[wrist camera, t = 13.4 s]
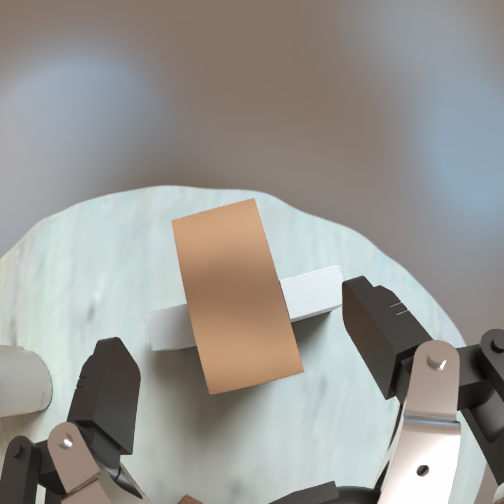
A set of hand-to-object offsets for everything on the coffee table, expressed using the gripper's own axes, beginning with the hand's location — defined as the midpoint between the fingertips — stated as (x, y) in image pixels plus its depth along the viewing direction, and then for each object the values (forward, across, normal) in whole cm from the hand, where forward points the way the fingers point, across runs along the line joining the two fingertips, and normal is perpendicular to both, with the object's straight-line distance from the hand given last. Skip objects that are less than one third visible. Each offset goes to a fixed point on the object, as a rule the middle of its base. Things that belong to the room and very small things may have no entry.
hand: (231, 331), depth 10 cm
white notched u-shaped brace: (+18, 0, +15) cm, 23 cm away
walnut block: (+18, 0, +15) cm, 23 cm away
